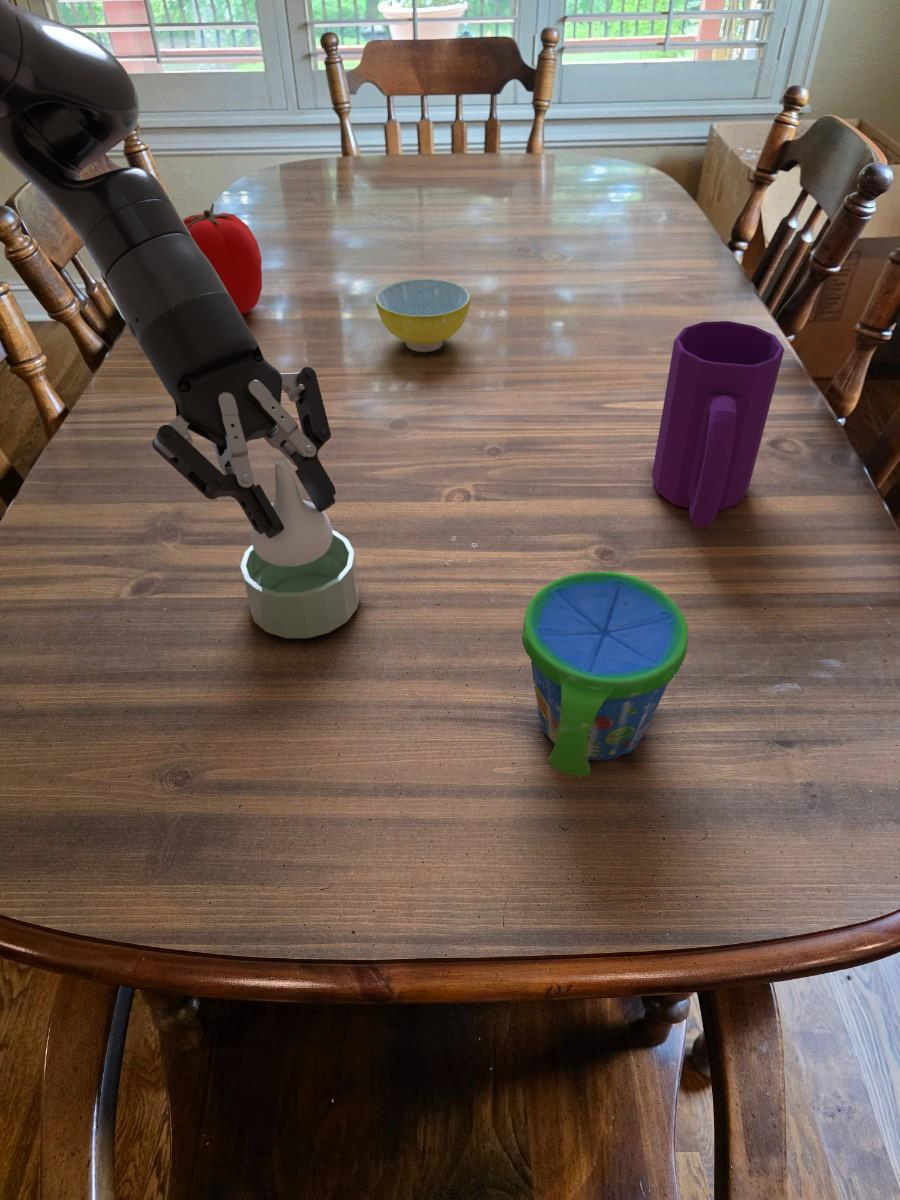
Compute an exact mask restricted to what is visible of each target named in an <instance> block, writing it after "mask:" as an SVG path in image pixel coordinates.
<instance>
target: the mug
mask: <svg viewBox="0 0 900 1200" xmlns="http://www.w3.org/2000/svg"><path fill="white" fill-rule="evenodd" d="M784 352H785V347H784V346H783V344H782V343H781V341H780V340H779V338H778V337H777V336H776V335H775V334H773V333H771V332H769V331H766V330H764V329H762V328H761V327H758V326H756V325H753V324H747V323H741V322H735V321H731V320H721V321H718V320H717V321H701V322H698V323H695V324H691V325H689V326H687V327H683V328H682V329H681V331H680V332H679V334H678V335H677V336H676V337H675V339H674V340H673V346H672V352H671V358H670V363H669V370H668V376H667V382H666V388H665V394H664V398H663V399H664V400H663V406H662V412H661V418H660V423H659V430H658V436H657V443H656V448H655V454H654V460H653V466H652V473H651V479H652V482H653V485H654V487H655V489H656V493H657V494H659V495H660V496H661V497H663V498H664V499H666V500H667V501H669V502H670V503H671V504H672V505H674V506H677V507H680V508H685V509H689V510H688V512H689V519H690V522H691V524H692V525H693V526H694V527H697V528H700V529H701V528H707V527H709V526H710V525H711V524H713V522H714V520H715V519H716V517H717V515H718V512H719V511H724V510H727V509H729V508H731V507H734V506H736V505H738V504H740V503H742V502H743V500H744V498H745V495H746V493H747V492H748V489H749V487H750V485H751V480H752V477H753V473H754V469H755V466H756V461H757V458H758V453H759V450H760V445H761V441H762V438H763V434H764V430H765V427H766V422H767V419H768V414H769V410H770V406H771V403H772V399H773V395H774V391H775V387H776V384H777V380H778V376H779V372H780V368H781V364H782V360H783V356H784Z"/></svg>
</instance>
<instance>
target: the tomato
mask: <svg viewBox="0 0 900 1200" xmlns="http://www.w3.org/2000/svg"><path fill="white" fill-rule="evenodd" d="M214 207H215V204H214V203H212V204H211V205H210V208H209V209H205V210H203V212H202V213H198V214H191V215H190V216H188V217H185V218H181V219H182V221H183V222H184V224H185V226H186V228H187V229H188V231H189V233H190V234H191V236H192V238H193V240H194V241H195V243H196V244H197V246H198V247H199V248H200V250H201V251H202V252H203V254H204V255H205V256H206V257H207V259H208V260H209V261H210V263H211V264H212V266H213V267H214V269H215V271H216V272H217V274H218V276H219V277H220V279H221V281H222V283H223V284H224V286H225V288H226V289H227V291H228V293H229V295H230V296H231V298H232V300H233V301H234V303H235V305H236V307H237V308H238V310H239V312H240V313H241V315H242V316H243V315H245V314H247V313H249V312H251V311H252V310H253V309H254V308H255V307H256V306H257V304H258V303H259V300H260V296H261V292H262V289H263V271H262V260H263V259H262V256H261V251H260V247H259V243H258V241H257V239H256V238H255V236H254V234H253V233H252V231H251V229H250V227H249V226H248V225H247V224H246V222H244V221H243V220H241V219H240V218H239V217H238V216H237V215H239V213H235V214H234V213H228V212H221V213H216V214H215V213H214Z"/></svg>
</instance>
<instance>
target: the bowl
mask: <svg viewBox="0 0 900 1200" xmlns="http://www.w3.org/2000/svg"><path fill="white" fill-rule="evenodd" d="M375 303H376V304H375V305H376V309H377V312H378V315H379V317H380V319H381V322H382V324H383V325H384V327H385V328H386V329H387V330H388V331H389V332H390V333H391V334H392V335H393V336H394V337H396V338H397V339H399V340H401V341H402V342H405V344H406V347H407V348H408V350H409V349H410V350H411V351H414V352H417V353H430V352H435V351H437V350H439V349H441V348H442V346H443V343H444V341H446V340H448V339H450V338H451V337H452V336H454V335H455V334H456V333H457V332H458V331H459V330H460V329H461V327H462V326H463V324H464V323H465V321H466V319H467V317H468V314H469V313H468V312H469V309H470V305H471V295H470V292H469V291H468V290H467V289H466V288H465V287H463V286H462V285H460V284H457V283H455V282H453V281H449V280H443V279H438V278H437V279H435V278H415V279H407V280H402V281H399V282H394V283H392V284H389V285H387V286H385V287H383V288H382V289H381V290H379V291H378V292H377V294H376V295H375Z"/></svg>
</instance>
